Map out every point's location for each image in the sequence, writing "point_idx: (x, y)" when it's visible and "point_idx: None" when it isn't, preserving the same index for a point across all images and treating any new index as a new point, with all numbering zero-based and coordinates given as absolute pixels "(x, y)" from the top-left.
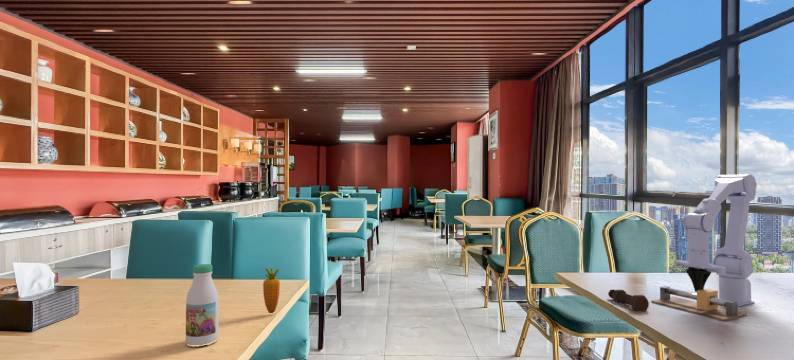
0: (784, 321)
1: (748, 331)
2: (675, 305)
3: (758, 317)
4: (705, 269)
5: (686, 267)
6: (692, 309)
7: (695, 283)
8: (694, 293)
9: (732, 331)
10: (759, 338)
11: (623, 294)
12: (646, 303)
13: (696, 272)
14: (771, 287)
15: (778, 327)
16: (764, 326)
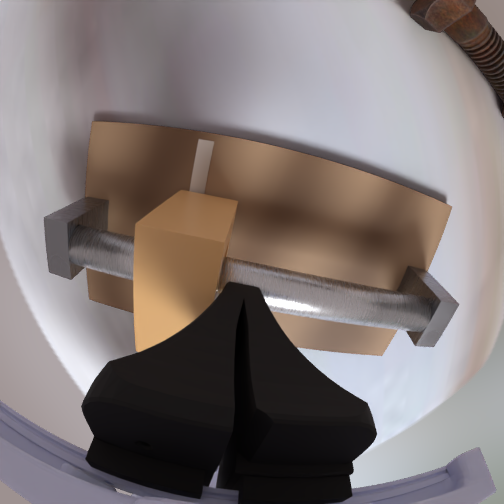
0: (32, 305)
1: (30, 74)
2: (350, 194)
3: (70, 300)
4: (106, 476)
5: (372, 486)
6: (255, 175)
7: (247, 320)
8: (272, 301)
9: (61, 21)
10: (12, 41)
11: None
12: (426, 4)
13: (183, 400)
14: None
15: (6, 218)
16: (19, 190)
